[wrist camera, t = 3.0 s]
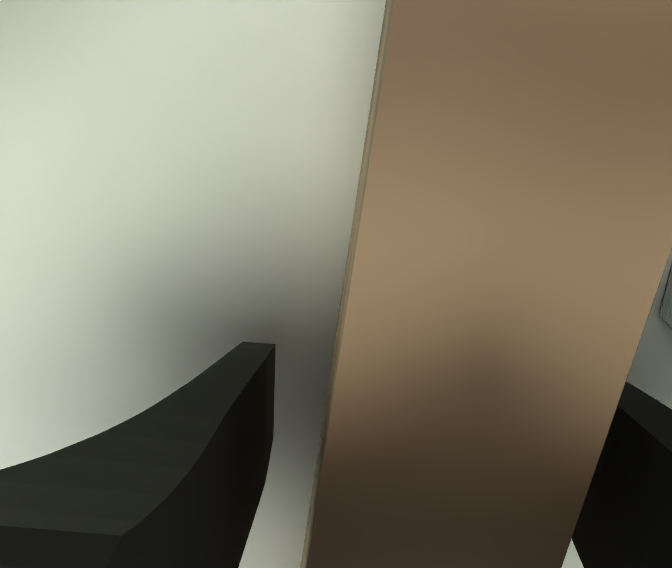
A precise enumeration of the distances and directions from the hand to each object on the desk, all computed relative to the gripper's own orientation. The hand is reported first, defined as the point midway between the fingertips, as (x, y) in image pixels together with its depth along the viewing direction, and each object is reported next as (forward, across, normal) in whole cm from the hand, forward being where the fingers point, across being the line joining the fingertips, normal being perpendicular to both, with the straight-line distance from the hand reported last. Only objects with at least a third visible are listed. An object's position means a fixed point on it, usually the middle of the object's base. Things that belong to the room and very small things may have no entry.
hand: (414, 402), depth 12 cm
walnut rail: (+2, 0, 0) cm, 2 cm away
